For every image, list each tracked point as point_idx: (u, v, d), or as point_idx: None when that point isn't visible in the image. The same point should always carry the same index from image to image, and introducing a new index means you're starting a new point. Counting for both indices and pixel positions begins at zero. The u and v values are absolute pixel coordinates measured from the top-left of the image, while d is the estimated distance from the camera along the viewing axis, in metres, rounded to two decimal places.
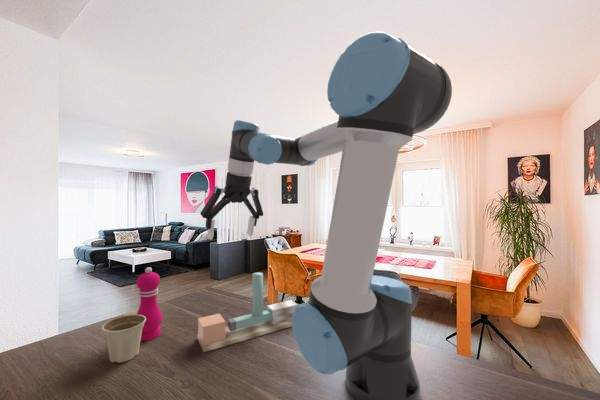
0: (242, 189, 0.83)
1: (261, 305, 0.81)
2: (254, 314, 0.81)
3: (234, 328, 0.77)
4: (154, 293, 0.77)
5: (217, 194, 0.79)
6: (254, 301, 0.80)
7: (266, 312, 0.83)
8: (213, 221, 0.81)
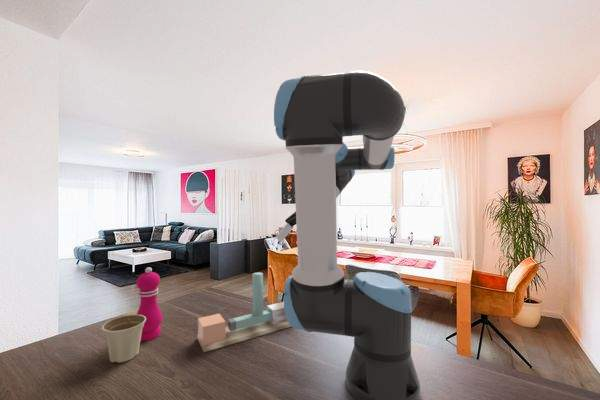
0: None
1: (261, 305, 0.81)
2: (254, 314, 0.81)
3: (234, 328, 0.77)
4: (154, 293, 0.77)
5: None
6: (254, 301, 0.80)
7: (266, 312, 0.83)
8: None
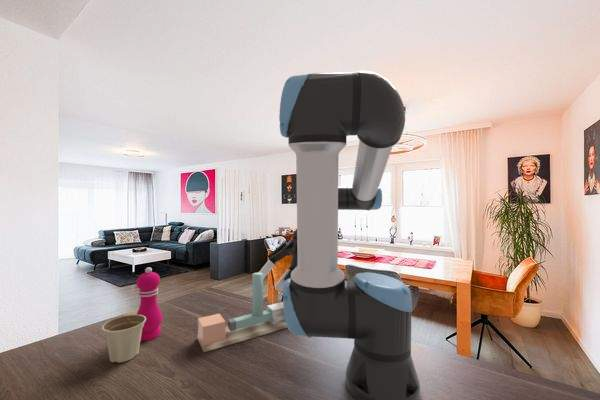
0: None
1: (261, 305, 0.81)
2: (254, 314, 0.81)
3: (234, 328, 0.77)
4: (154, 293, 0.77)
5: (284, 242, 0.95)
6: (254, 301, 0.80)
7: (266, 312, 0.83)
8: (268, 260, 0.92)
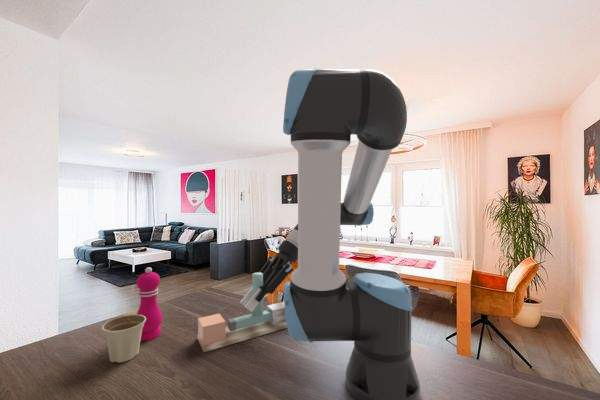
0: (286, 254, 0.85)
1: (261, 305, 0.81)
2: (254, 314, 0.81)
3: (234, 328, 0.77)
4: (154, 293, 0.77)
5: (267, 260, 0.90)
6: None
7: (265, 312, 0.83)
8: None
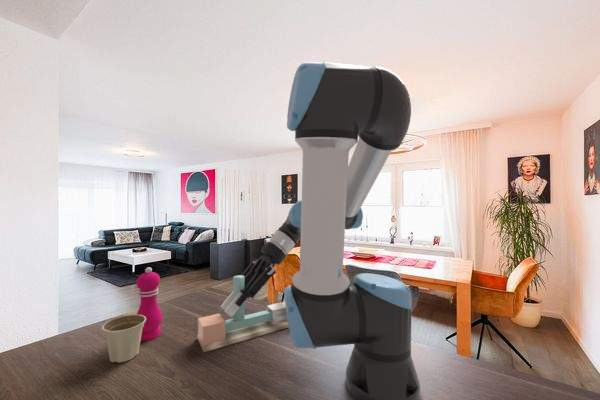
0: (269, 257, 0.82)
1: (242, 309, 0.78)
2: (235, 319, 0.77)
3: None
4: (154, 293, 0.77)
5: (251, 263, 0.87)
6: None
7: (247, 317, 0.80)
8: None
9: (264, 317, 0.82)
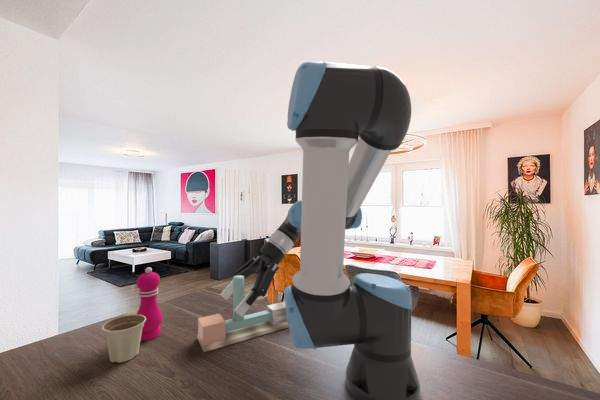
0: (266, 258, 0.82)
1: None
2: (234, 319, 0.77)
3: None
4: (154, 293, 0.77)
5: (252, 258, 0.88)
6: (234, 306, 0.77)
7: (247, 317, 0.80)
8: None
9: (264, 317, 0.82)
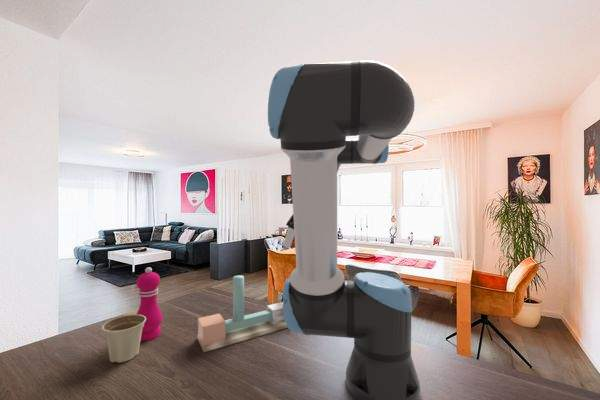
0: None
1: (242, 309, 0.78)
2: (234, 319, 0.77)
3: None
4: (154, 293, 0.77)
5: None
6: (234, 306, 0.77)
7: (247, 317, 0.80)
8: (289, 228, 0.92)
9: (264, 317, 0.82)
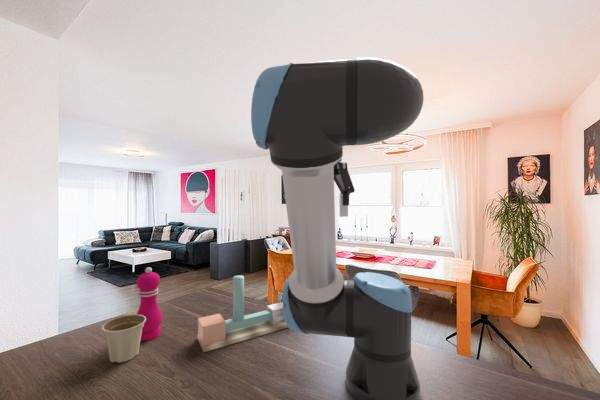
0: None
1: (242, 309, 0.78)
2: (234, 319, 0.77)
3: None
4: (154, 293, 0.77)
5: None
6: (234, 306, 0.77)
7: (247, 317, 0.80)
8: None
9: (264, 317, 0.82)
